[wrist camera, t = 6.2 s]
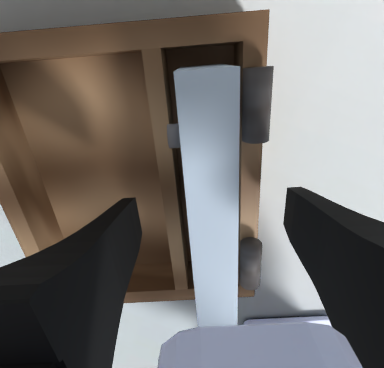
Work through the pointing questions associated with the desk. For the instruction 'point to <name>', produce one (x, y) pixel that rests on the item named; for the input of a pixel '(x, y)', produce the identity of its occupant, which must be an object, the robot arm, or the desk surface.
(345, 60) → the desk surface
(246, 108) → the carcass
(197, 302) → the door
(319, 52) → the desk surface
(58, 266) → the robot arm
